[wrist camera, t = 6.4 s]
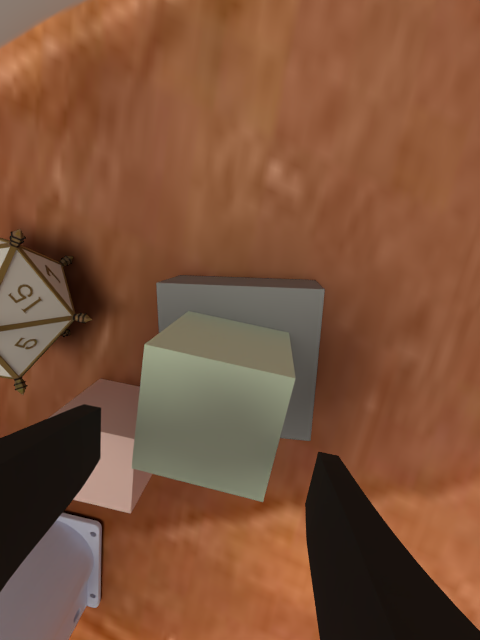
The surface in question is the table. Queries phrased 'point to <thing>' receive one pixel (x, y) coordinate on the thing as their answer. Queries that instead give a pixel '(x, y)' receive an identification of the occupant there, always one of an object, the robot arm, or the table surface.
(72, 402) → the rose cube
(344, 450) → the table surface
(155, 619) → the table surface
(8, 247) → the game die
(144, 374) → the sage cube
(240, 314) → the base block
